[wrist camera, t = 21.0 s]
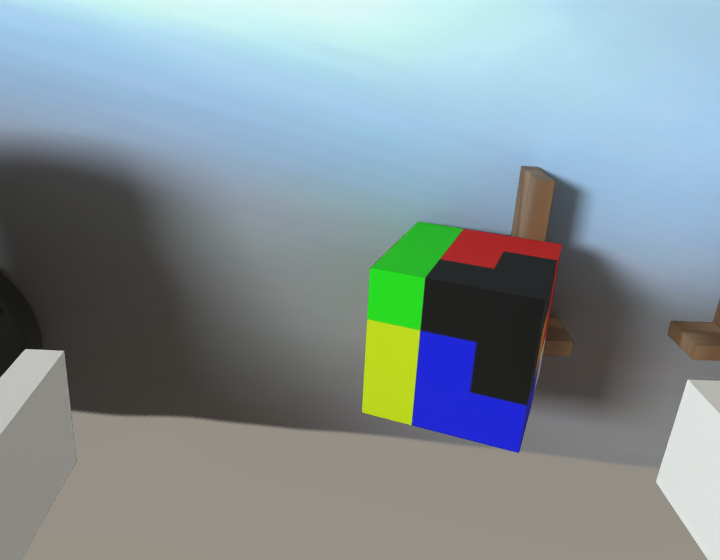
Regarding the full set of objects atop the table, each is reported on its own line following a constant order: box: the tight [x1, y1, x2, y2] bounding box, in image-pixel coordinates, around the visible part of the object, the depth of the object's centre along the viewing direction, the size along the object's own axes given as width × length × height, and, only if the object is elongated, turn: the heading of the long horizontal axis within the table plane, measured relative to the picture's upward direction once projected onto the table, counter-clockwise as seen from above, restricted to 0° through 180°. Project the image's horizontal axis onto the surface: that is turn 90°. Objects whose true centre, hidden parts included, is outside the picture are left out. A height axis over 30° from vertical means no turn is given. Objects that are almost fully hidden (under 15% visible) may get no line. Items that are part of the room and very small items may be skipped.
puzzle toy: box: [362, 222, 562, 453], centre depth 43 cm, size 10×10×10 cm
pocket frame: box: [511, 166, 720, 361], centre depth 48 cm, size 18×13×4 cm
